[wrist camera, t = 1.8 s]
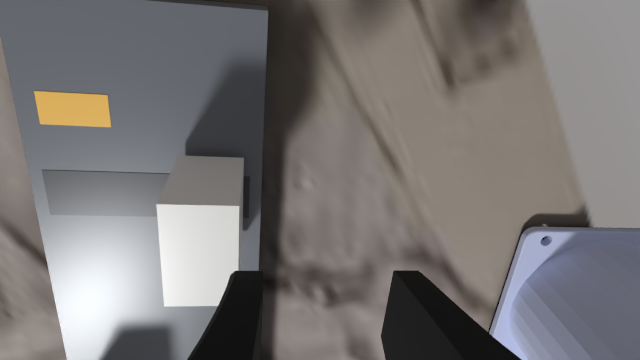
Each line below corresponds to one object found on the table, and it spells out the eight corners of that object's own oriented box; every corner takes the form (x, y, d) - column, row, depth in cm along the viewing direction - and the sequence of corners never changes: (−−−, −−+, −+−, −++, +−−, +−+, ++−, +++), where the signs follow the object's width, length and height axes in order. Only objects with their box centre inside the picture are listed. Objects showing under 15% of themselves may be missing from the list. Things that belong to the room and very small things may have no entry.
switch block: (267, 6, 14) (268, 10, 12) (251, 446, 23) (250, 485, 22) (27, -15, 13) (-10, -14, 11) (108, 454, 22) (95, 496, 21)
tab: (244, 157, 14) (239, 206, 11) (242, 242, 15) (237, 305, 12) (178, 155, 14) (156, 204, 11) (182, 242, 15) (164, 306, 12)
